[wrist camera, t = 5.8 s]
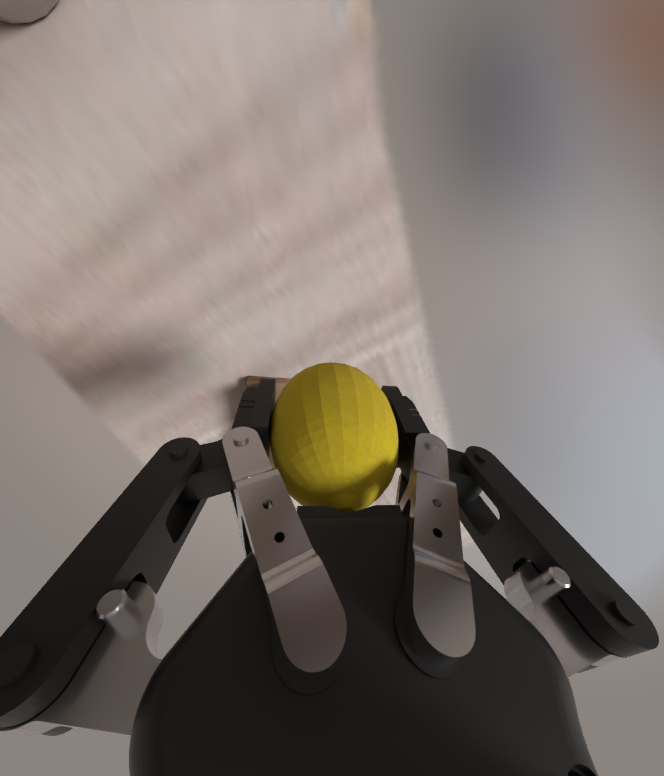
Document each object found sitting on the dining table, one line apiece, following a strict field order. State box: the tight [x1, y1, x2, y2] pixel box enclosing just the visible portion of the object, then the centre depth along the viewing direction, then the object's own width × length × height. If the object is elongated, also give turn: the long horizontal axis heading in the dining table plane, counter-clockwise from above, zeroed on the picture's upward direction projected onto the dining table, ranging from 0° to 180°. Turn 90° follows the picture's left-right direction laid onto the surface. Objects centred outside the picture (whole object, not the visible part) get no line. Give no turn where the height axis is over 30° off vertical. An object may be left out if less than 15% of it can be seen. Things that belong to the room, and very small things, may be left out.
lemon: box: [270, 363, 398, 512], centre depth 12 cm, size 6×6×8 cm
